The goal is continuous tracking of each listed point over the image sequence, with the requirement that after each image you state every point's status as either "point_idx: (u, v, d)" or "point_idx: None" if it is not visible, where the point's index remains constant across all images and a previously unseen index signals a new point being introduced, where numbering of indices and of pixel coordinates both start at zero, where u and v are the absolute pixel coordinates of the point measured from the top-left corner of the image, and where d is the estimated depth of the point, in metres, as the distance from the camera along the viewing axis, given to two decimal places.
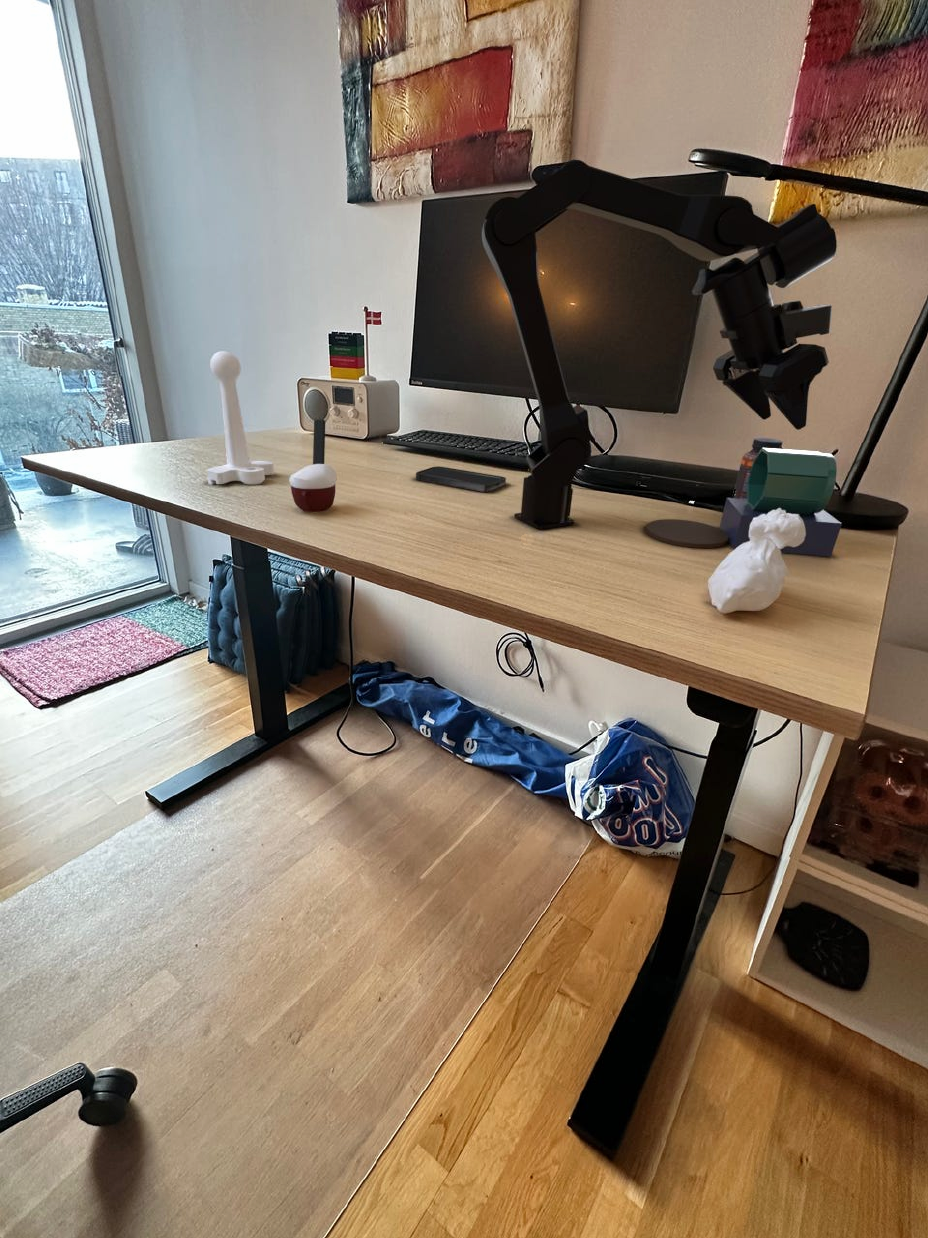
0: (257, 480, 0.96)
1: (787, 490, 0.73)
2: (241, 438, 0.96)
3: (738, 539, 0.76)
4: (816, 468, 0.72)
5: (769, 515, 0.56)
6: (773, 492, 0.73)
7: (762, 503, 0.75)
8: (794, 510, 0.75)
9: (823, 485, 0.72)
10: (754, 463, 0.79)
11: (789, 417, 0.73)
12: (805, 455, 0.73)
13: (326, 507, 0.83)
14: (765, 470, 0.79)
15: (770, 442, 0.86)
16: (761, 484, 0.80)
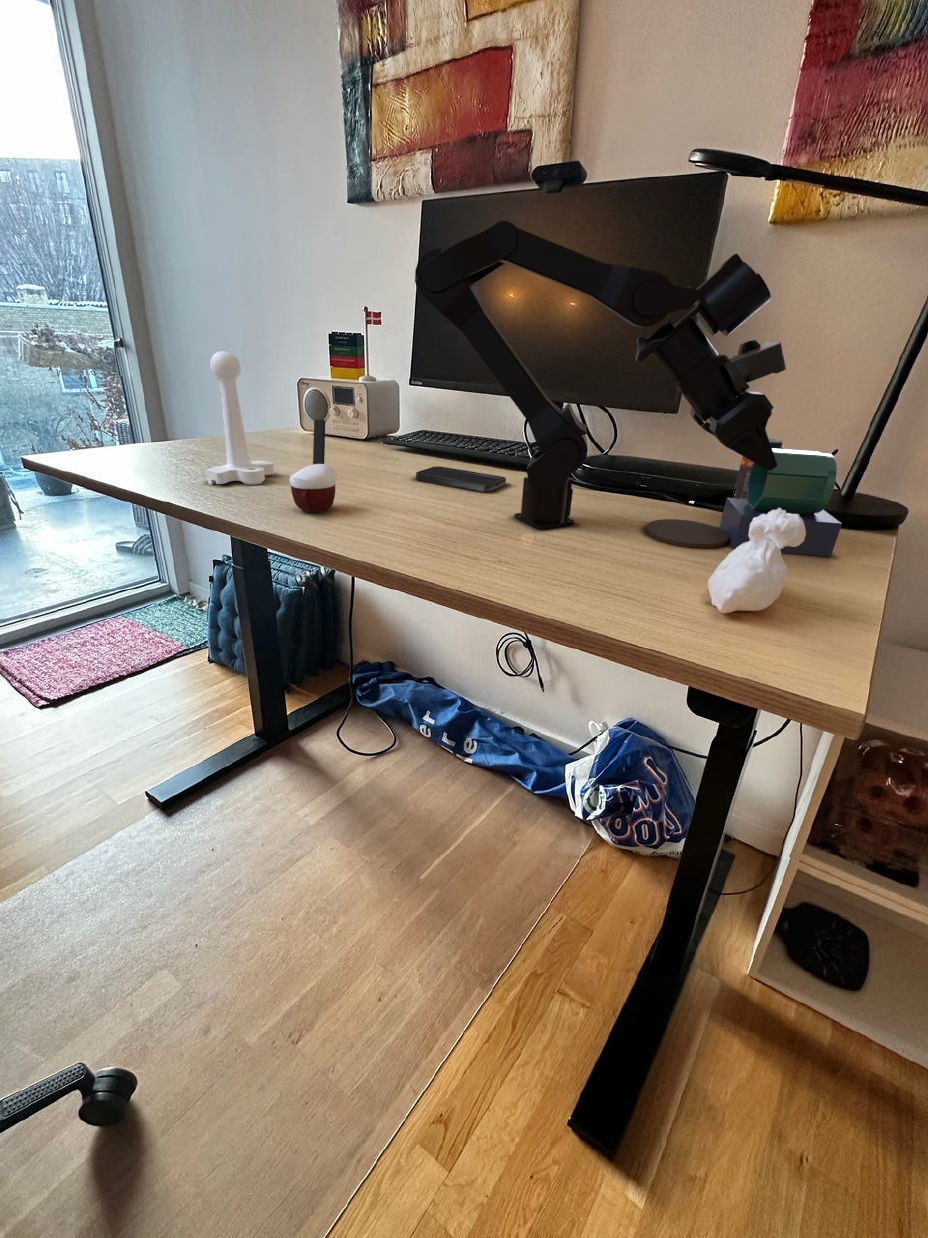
0: (257, 480, 0.96)
1: (787, 490, 0.73)
2: (241, 438, 0.96)
3: (738, 539, 0.76)
4: (816, 468, 0.72)
5: (769, 515, 0.56)
6: (773, 492, 0.73)
7: (762, 503, 0.75)
8: (794, 510, 0.75)
9: (823, 485, 0.72)
10: (754, 463, 0.79)
11: (754, 461, 0.71)
12: (805, 455, 0.73)
13: (326, 507, 0.83)
14: (765, 470, 0.79)
15: (770, 442, 0.86)
16: (761, 484, 0.80)
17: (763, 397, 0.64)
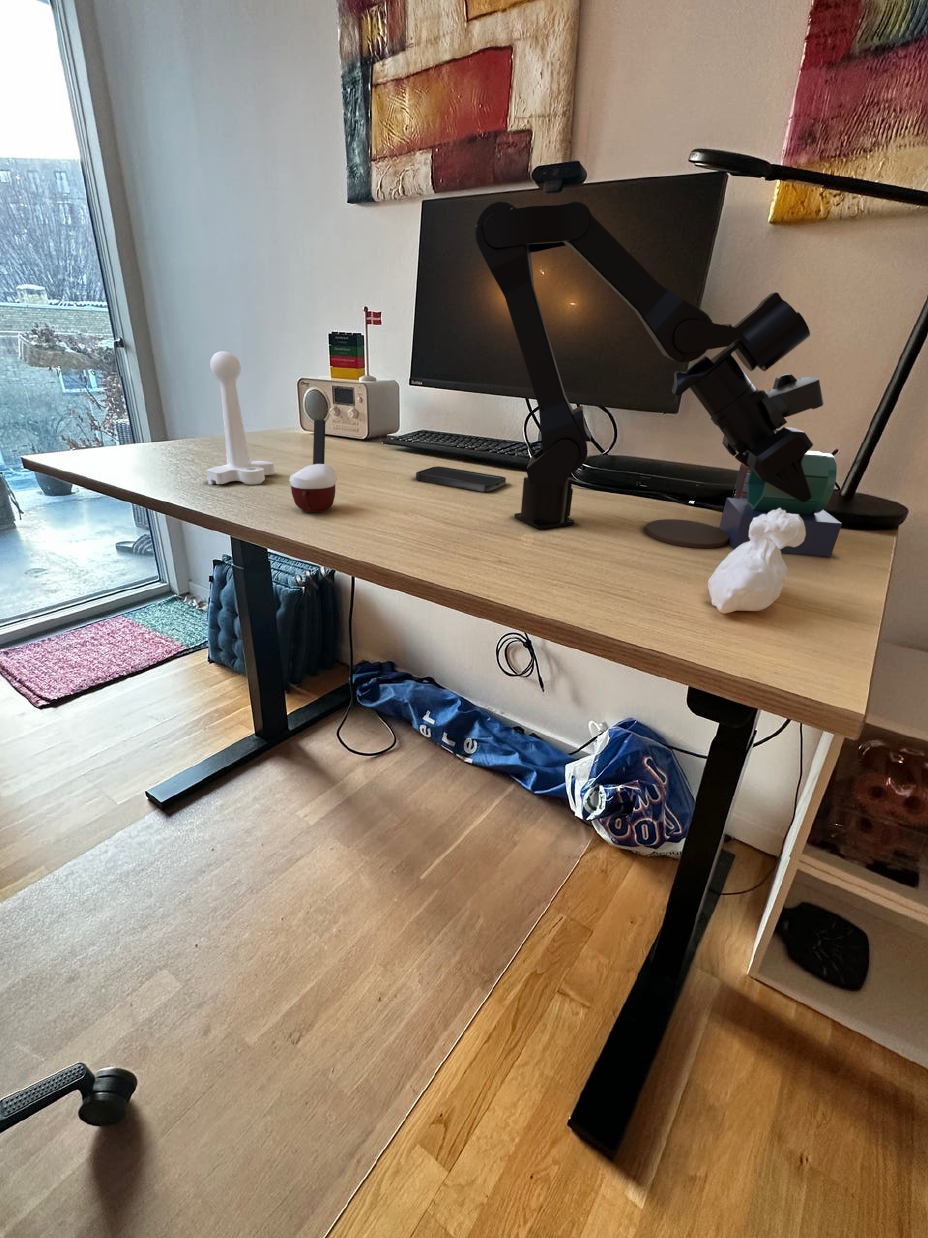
0: (257, 480, 0.96)
1: None
2: (241, 438, 0.96)
3: (738, 539, 0.76)
4: (816, 468, 0.72)
5: (769, 515, 0.56)
6: (773, 492, 0.73)
7: (762, 503, 0.75)
8: (794, 510, 0.75)
9: (823, 485, 0.72)
10: None
11: (789, 493, 0.72)
12: (805, 455, 0.73)
13: (326, 507, 0.83)
14: None
15: None
16: (761, 484, 0.80)
17: (803, 435, 0.65)
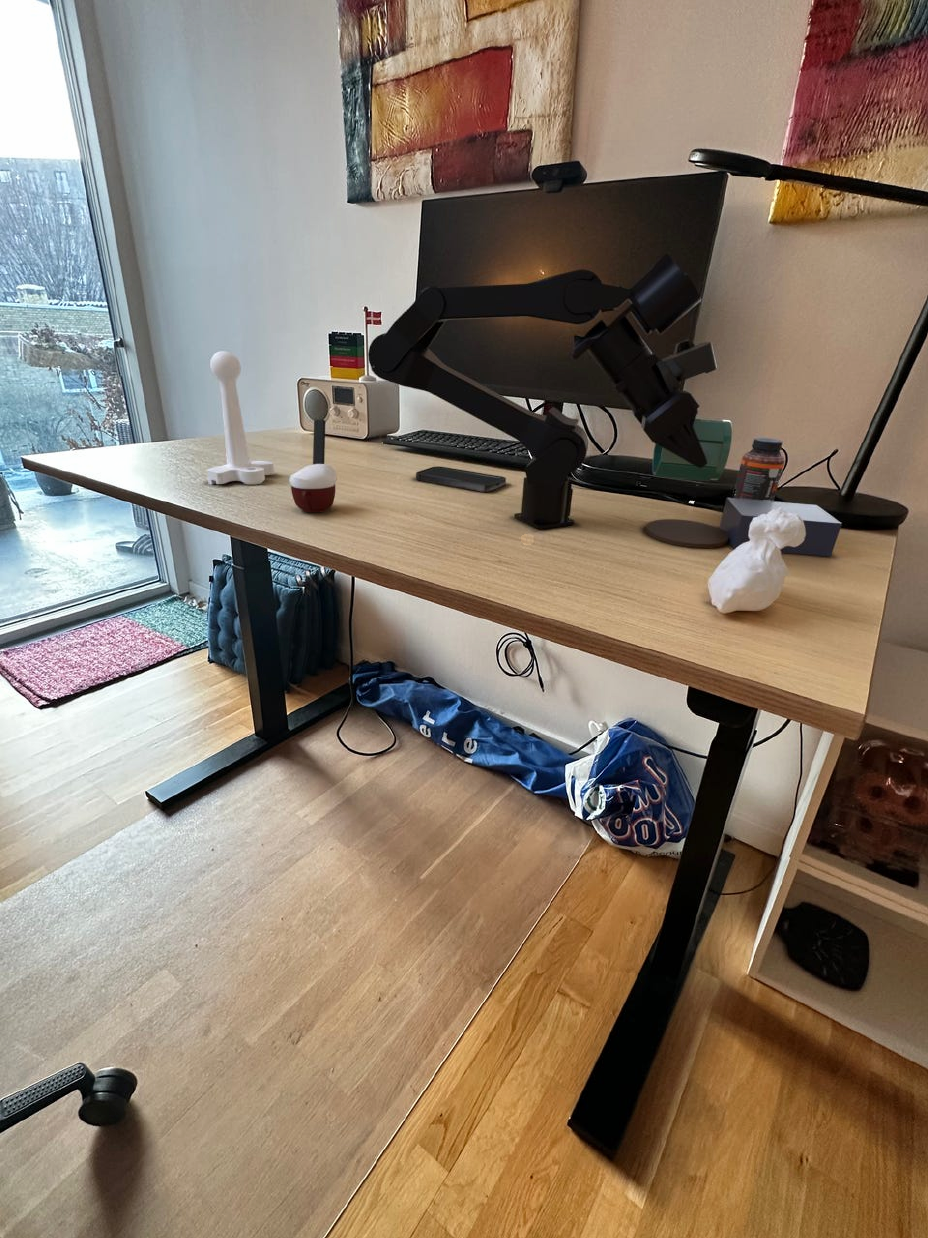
0: (257, 480, 0.96)
1: None
2: (241, 438, 0.96)
3: (738, 539, 0.76)
4: (712, 433, 0.72)
5: (769, 515, 0.56)
6: (670, 457, 0.73)
7: (661, 469, 0.75)
8: (694, 476, 0.76)
9: (718, 450, 0.72)
10: None
11: (685, 458, 0.72)
12: (702, 420, 0.73)
13: (326, 507, 0.83)
14: None
15: (770, 442, 0.86)
16: None
17: (689, 396, 0.65)
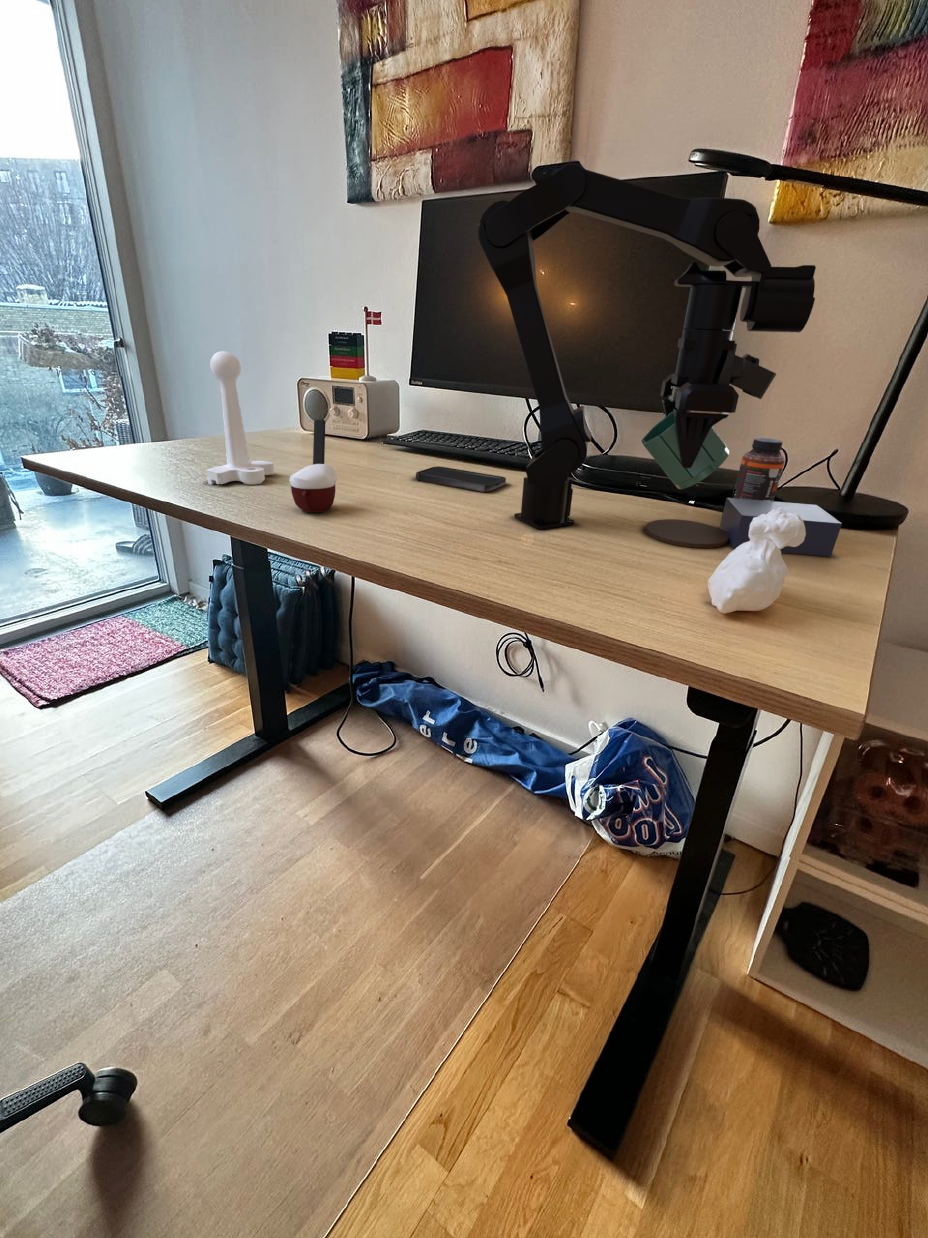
0: (257, 480, 0.96)
1: None
2: (241, 438, 0.96)
3: (738, 539, 0.76)
4: (712, 447, 0.73)
5: (769, 515, 0.56)
6: (671, 438, 0.72)
7: (655, 442, 0.74)
8: (669, 471, 0.76)
9: (706, 465, 0.73)
10: (673, 412, 0.78)
11: (680, 448, 0.72)
12: (714, 431, 0.73)
13: (326, 507, 0.83)
14: None
15: (770, 442, 0.86)
16: None
17: (736, 396, 0.64)
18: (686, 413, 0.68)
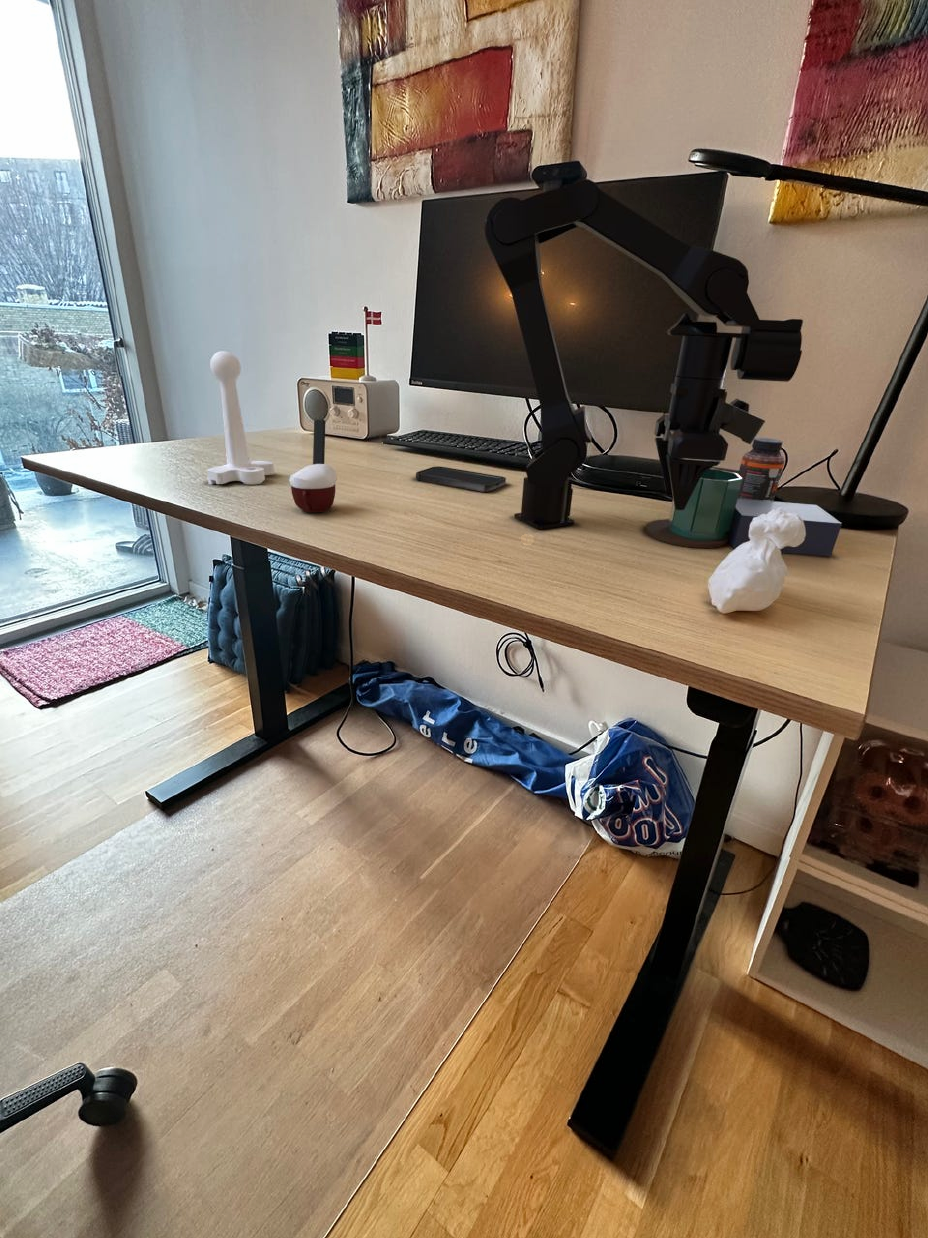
0: (257, 480, 0.96)
1: (707, 500, 0.75)
2: (241, 438, 0.96)
3: (738, 539, 0.76)
4: (723, 522, 0.76)
5: (769, 515, 0.56)
6: (707, 488, 0.74)
7: None
8: (679, 511, 0.78)
9: (708, 531, 0.77)
10: (715, 470, 0.80)
11: (673, 492, 0.74)
12: (733, 511, 0.77)
13: (326, 507, 0.83)
14: None
15: (770, 442, 0.86)
16: None
17: (726, 445, 0.67)
18: (678, 460, 0.69)
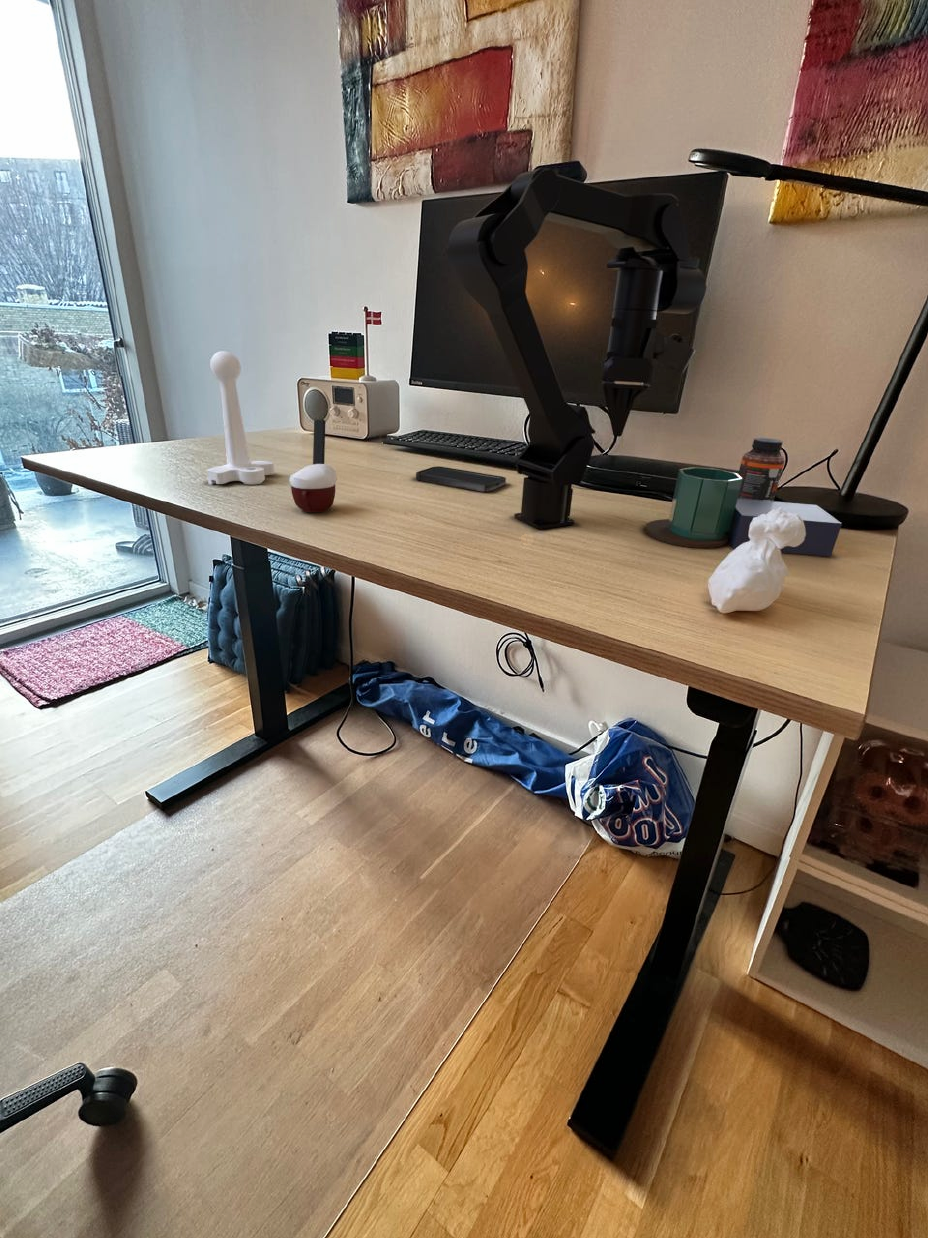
0: (257, 480, 0.96)
1: (707, 500, 0.75)
2: (241, 438, 0.96)
3: (738, 539, 0.76)
4: (723, 522, 0.76)
5: (769, 515, 0.56)
6: (707, 488, 0.74)
7: (693, 481, 0.75)
8: (679, 511, 0.78)
9: (708, 531, 0.77)
10: (715, 470, 0.80)
11: (610, 418, 0.79)
12: (733, 511, 0.77)
13: (326, 507, 0.83)
14: None
15: (770, 442, 0.86)
16: None
17: (651, 368, 0.72)
18: (611, 384, 0.75)
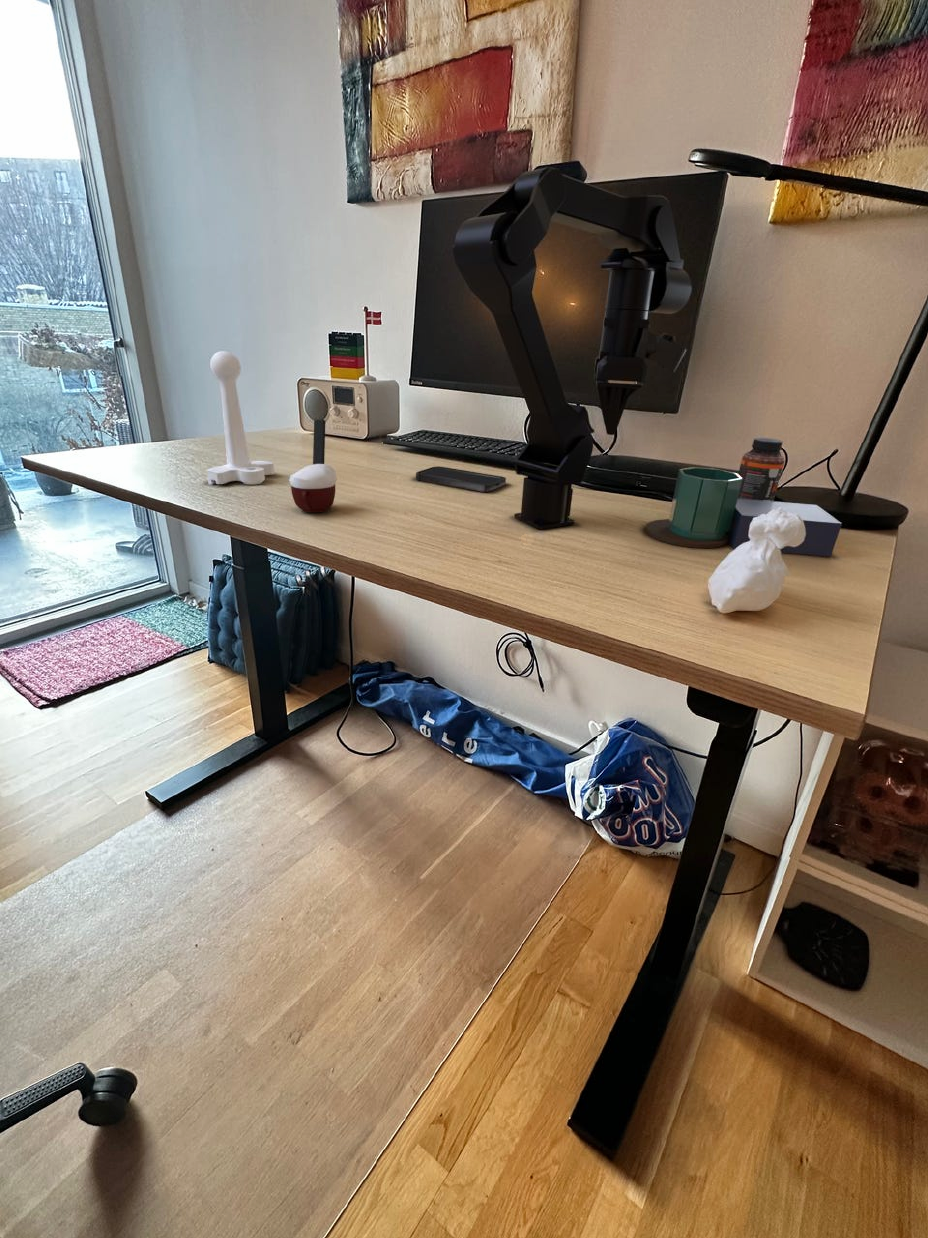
0: (257, 480, 0.96)
1: (707, 500, 0.75)
2: (241, 438, 0.96)
3: (738, 539, 0.76)
4: (723, 522, 0.76)
5: (769, 515, 0.56)
6: (707, 488, 0.74)
7: (693, 481, 0.75)
8: (679, 511, 0.78)
9: (708, 531, 0.77)
10: (715, 470, 0.80)
11: (604, 417, 0.80)
12: (733, 511, 0.77)
13: (326, 507, 0.83)
14: None
15: (770, 442, 0.86)
16: None
17: (645, 367, 0.73)
18: (605, 383, 0.76)
